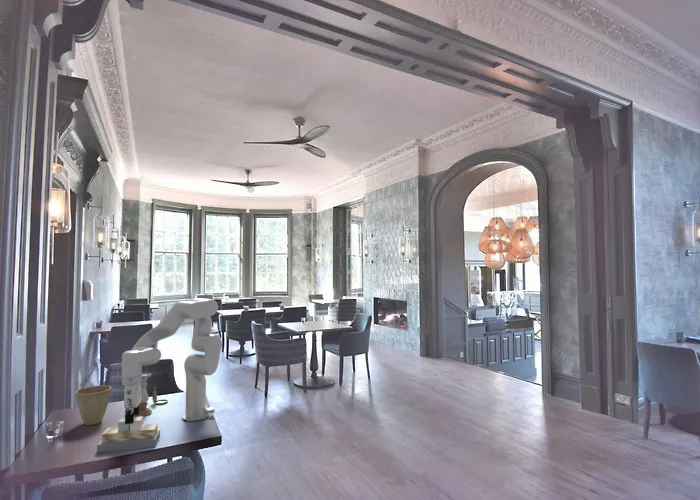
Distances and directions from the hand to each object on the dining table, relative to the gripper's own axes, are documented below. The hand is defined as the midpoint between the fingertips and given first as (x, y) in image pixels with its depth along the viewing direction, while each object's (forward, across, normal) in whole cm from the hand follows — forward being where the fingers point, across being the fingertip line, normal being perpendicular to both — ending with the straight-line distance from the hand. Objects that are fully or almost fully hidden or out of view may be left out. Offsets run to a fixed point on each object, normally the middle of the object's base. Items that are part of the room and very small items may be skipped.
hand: (132, 419), depth 178 cm
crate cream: (+4, -1, -2) cm, 4 cm away
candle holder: (+11, +38, +4) cm, 40 cm away
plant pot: (+11, +32, +25) cm, 42 cm away
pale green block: (+4, 0, +3) cm, 5 cm away
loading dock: (+10, -1, +1) cm, 10 cm away
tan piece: (+7, -1, 0) cm, 7 cm away
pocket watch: (+12, +54, -1) cm, 55 cm away
